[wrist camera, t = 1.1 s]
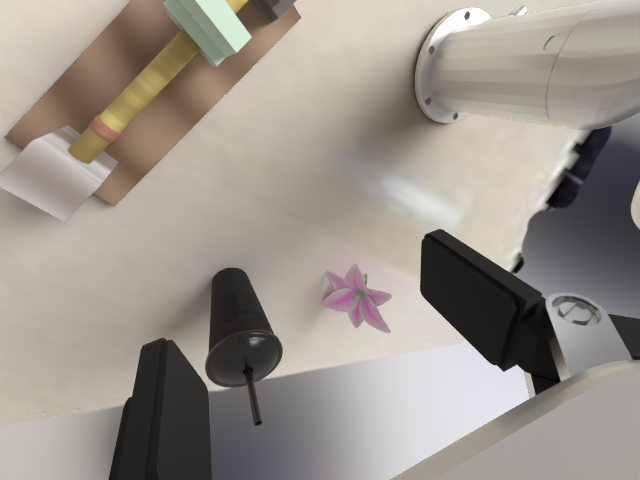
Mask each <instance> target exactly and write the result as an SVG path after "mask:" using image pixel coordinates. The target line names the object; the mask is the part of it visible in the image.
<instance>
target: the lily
mask: <svg viewBox="0 0 640 480" xmlns="http://www.w3.org/2000/svg"><path fill="white" fill-rule="evenodd" d="M327 276H328V278H329V280H330V281H331V283H332V284H333V286H334V287H335V289H336V290H337V291H335V292H333V293H332V294H331V295H329V296H328V297H327V298H326V299H325V300H324V301H323V305H324V306H326V307H328V308H330V309H333V310H336V311H340V312H348V314H349V317H350V320H351V322H352V324H353V325H354V327H356V328H357V327H359V326H360V324H361V323H362V322H363V320H365V321H366V322H367V323H368V324H369V325H371V326H373V327H374V328H376V329H378V330H380V331H383V332H385V333H390V330H389V328H388V326H387V325H386V323H385V321H384V320H383V318H382V316H381V315H380V313H379V311H378V309H377V307H376V306H379V305H382V304H383V303H385V302H386V301H388V300H389V299H390V298H391V297H392V295H391V294H389V293H385V292H381V291H377V290H372V289H368V288H367V287H366V284H367V274H366V275H365V282H364V280H363V277H362V274H361V272H360V269H359V267H358V265H357V264H353V265H352V266H351V267H350V269H349V270H348V272H347V274H346V276H345V278H344V279H342V278H340V277H338V276H336V275H335V274H332V273H330V272H328V271H327Z"/></svg>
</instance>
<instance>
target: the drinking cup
mask: <svg viewBox="0 0 640 480" xmlns="http://www.w3.org/2000/svg"><path fill="white" fill-rule="evenodd" d="M282 353H283V348H282V344H281V342H280V340H279V339H278V337H277V336H275V335H274V333H273V331H272V328H271V326H270V324H269V322H268V320H267V317H266V315H265V313H264V311H263V309H262V307H261V304H260V302H259V300H258V298H257V296H256V294H255V291H254V289H253V287H252V285H251V283H250V281H249V278H248V276H247V274H246V273H245V272H244V271H243V270H241V269H238V268H227V269H224V270H221V271H220V272H218V273H217V274H216V275H215V277H214V278H213V281H212V296H211V316H210V336H209V354H208V356H207V359H206V363H205V370H206V374H207V376H208V378H209V379H210V380H211V381H212V382H213V383H215V384H217V385H219V386H223V387H241V386H246V385H247V388H248V393H249V398H250V404H251V409H252V415H253V420H254V425H255V426H258V425H261V424H262V417H261V412H260V408H259V403H258V398H257V393H256V389H255V384H254V383H255V382H257V381H259V380H261V379H263V378H264V377H266V376H267V375H269V374H270V373H271V372H272V371H273V370H274V369H275V368H276V367H277V365H278V364H279V362H280V360H281V358H282Z"/></svg>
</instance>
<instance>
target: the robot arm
mask: <svg viewBox="0 0 640 480" xmlns="http://www.w3.org/2000/svg"><path fill="white" fill-rule="evenodd" d="M415 92H416V98H417V101H418V103H419V106H420V108H421V109H422V111H423V113H424V114H425V115H426V116H427V117H428V118H430V119H432V120H434V121H436V122H441V123H454V122H457V121H459V120H462V119H464V118H465V117H467V116H468V115H469V114H473V115H480V116H487V117H494V118H500V119H507V120H514V121H521V122H528V123H534V124H541V125H548V126H555V127H561V128H568V129H577V130H592V129H598V128H603V127H607V126H610V125H613V124H616V123H619V122H621V121H623V120H626V119H628V118H630V117H632V116H634V115H636V114H638V113H640V0H600V1H594V2H589V3H583V4H577V5H572V6H566V7H560V8H554V9H549V10H543V11H537V12H532V13H526V8H525V7H524V6H523V5H519V6H517V7H516V8H515V9H514V10H513V11H512V12H511V13H510V14H509V16H504V17H499V18H493V19H492V18H491V17H490V15H488V14H487V13H486V12H485V11H484V10H481V9H479V8H474V7H467V8H462V9H458V10H456V11H453V12H451V13H449V14H448V15H446V16H445V17H443V18H442V19H441V20H440V21H439V22H438V23H437V24H436V25H435V26H434V28H433V29H432V30H431V32H430V33H429V35H428V36H427V38H426V40H425V42H424V44H423V46H422V49H421V51H420V54H419V57H418V61H417V65H416V70H415ZM631 214H632V218H633V221H634V222H635V224H636V225H637V227H638V228H639V229H640V182H639V184H638V186H637V188H636V191H635V194H634V197H633V200H632V205H631ZM420 291H421V294H422V296H423V297H424V298H425V299H426V300H427V301H428V302H429V303H430V304H431V305H432V306H433V307H434V308H435V309H436V310H437V311H438V312H439V313H440V314H441V315H442V316H443V317H444V318H445V319H446V320H447V321H448V322H449V323H450V324H451V325H452V326H453V327H454V328H455V329H456V330H457V331H458V332H459V333H460V334H461V335H462V336H463V337H464V338H465V339H466V340H467V341H468V342H469V343H470V344H471V345H472V346H473V347H475V349H476V350H478V352H479V353H480V354H481V355H482V356H483V357H484V358H485V359H486V360H488V361H489V362H490V363H491V364H493V365H497V366H498V367H499V368H500V369H501V370H502V371H506V370H508V369H510V368H512V367H513V366H515V365H516V364H517V365H518V366H519V367H520V368H521V369H523V370H524V375H525V379H526V383H527V388H528V393H529V397H530V399H529V400H527V401H525V402H523V403H522V404H520V405H518V406H516V407H515V408H513V409H511V410H509V411H508V412H506V413H504V414H503V415H501V416H499V417H497V418H496V419H494V420H492V421H490V422H489V423H487V424H485V425H484V426H482V427H480V428H478V429H477V430H475V431H473V432H471V433H470V434H468V435H466V436H464V437H463V438H461V439H459V440H458V441H456V442H454V443H452V444H451V445H449V446H447V447H446V448H444V449H442V450H441V451H439V452H437V453H435V454H434V455H432V456H430V457H428V458H427V459H425V460H423V461H421V462H420V463H418V464H416V465H415V466H413V467H411V468H410V469H408V470H406V471H404V472H403V473H401V474H399V475H397V476H396V477H394V478H392V479H391V480H640V319H637V318H630V317H624V316H618V315H611V314H607V312H606V311H605V310H604V309H603V307H601V306H600V305H599V304H598V303H596V302H595V301H593V300H591V299H589V298H587V297H584V296H581V295H578V294H574V293H568V292H559V293H555V294H552V295H550V296H549V297H548V298H547V300H546V299H545V298H543V297H542V296H541V295H542V293H540V292H539V291H537V290H536V289H534V288H533V287H531V286H529V285H528V284H527V283H525V282H523V281H522V280H520V279H518V278H517V277H516V276H514V275H512V274H511V273H509V272H508V271H506V270H505V269H503V268H502V267H500V266H498V265H497V264H495V263H494V262H492V261H491V260H489V259H488V258H486V257H484V256H483V255H481V254H480V253H478V252H477V251H475V250H473V249H472V248H470V247H469V246H467V245H466V244H464V243H463V242H461V241H459V240H458V239H456V238H455V237H453V236H452V235H450V234H448V233H447V232H445V231H444V230H442V229H438V230H435V231H433V232H430V233H428V234H426V235H425V236H424V239H423V240H422V245H421V280H420ZM209 425H210V424H209V402H208V390H207V387H206V385H205V383H204V382H203V380H202V379H201V378H200V376H199V375H198V374H197V372H196V371H195V369H194V368H193V367H192V365H191V364H190V363H189V361H188V360H187V359H186V357H185V356H184V355H183V353H182V352H181V351H180V349H179V348H178V347H177V345H176V344H175V343H174V341H173V340H168V341H167V340H166V339H165V338H161V339H158V340H156V341H153V342H151V343H148V344H145V345H143V347H142V349H141V353H140V358H139V364H138V369H137V374H136V379H135V385H134V390H133V395H132V397H130V398H128V400H127V401H126V403H125V406H124V409H123V414H122V418H121V423H120V428H119V433H118V437H117V442H116V447H115V452H114V456H113V461H112V466H111V471H110V475H109V480H212V471H211V448H210V426H209Z"/></svg>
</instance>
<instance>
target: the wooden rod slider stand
mask: <svg viewBox="0 0 640 480" xmlns="http://www.w3.org/2000/svg"><path fill="white" fill-rule="evenodd" d="M165 1H166V0H132V1H131V2H130V3H129V4H128V5H127V6H126V7H125V9H124V10H123V11H122V12H121V13H120V14H119V15H118V16H117V17H116V18H115V19H114V20H113V21H112V22H111V23H110V25H109V26H108V27H107V28H106V29H105V30H104V31H103V32H102V33H101V34H100V35H99V36H98V37H97V38H96V40H95V41H94V42H93V43H92V44H91V45H90V46H89V47H88V48H87V49H86V50H85V51H84V52H83V53H82V55H81V56H80V57H79V58H78V59H77V60H76V61H75V62H74V63H73V64H72V65H71V66H70V67H69V68H68V70H67V71H66V72H65V73H64V74H63V75H62V76H61V77H60V78H59V79H58V80H57V81H56V82H55V83H54V84H53V86H52V87H51V88H50V89H49V90H48V91H47V92H46V93H45V94H44V95H43V96H42V97H41V98H40V99H39V101H38V102H37V103H36V104H35V105H34V106H33V107H32V108H31V109H30V110H29V111H28V112H27V113H26V114H25V116H24V117H23V118H22V119H21V120H20V121H19V122H18V123H17V124H16V125H15V126H14V127H13V128H12V129H11V130H10V132H9V133H8V134H7V135H6V136H5V137H4V138H6V139H7V140H9V141H11V142H12V143H14V144H15V145H17V146H19V147H20V148H22V149H23V151H22V152H21V153H20V154H19V155H18V156H17V157H16V158H15V159H14V160H13V161H12V162H11V164H10V165H9V166H8V167H7V168H6V169H5V170H4V171H3V172H2V173H1V174H0V187H1V188H3V189H5V190H7V191H8V192H10V193H12V194H14V195H16V196H18V197H20V198H21V199H23V200H25V201H27V202H29V203H31V204H32V205H34V206H36V207H38V208H40V209H42V210H44V211H45V212H47V213H49V214H51V215H53V216H55V217H56V218H58V219H60V220H62V221H64V222H65V221H66V220H67V219H68V218H69V217H70V216H71V215H72V214H73V213H74V212H75V211H76V210H77V209H78V208H79V207H80V206H81V205H82V204H83V203H84V202H85V201H86V200H87V199H88V198H89V197H90V196H91V195H92V194H95V195H97V196H98V197H100V198H101V199H103V200H104V201H106V202H108V203H109V204H111V205H112V206H115V205H116V204H117V203H118V202H119V201H120V200H121V199H122V198H123V197H124V196H125V195H126V194H127V193H128V192H129V191H130V190H131V189H132V188H133V187H134V186H135V185H136V184H137V183H138V182H139V181H140V180H141V179H142V178H143V177H144V176H145V175H146V174H147V173H148V172H149V171H150V170H151V169H152V168H153V167H154V166H155V165H156V164H157V163H158V162H159V161H160V160H161V159H162V158H163V157H164V156H165V155H166V154H167V153H168V152H169V151H170V150H171V149H172V148H173V147H174V146H175V145H176V144H177V143H178V142H179V141H180V140H181V139H182V138H183V137H184V136H185V135H186V134H187V133H188V132H189V131H190V130H191V128H192V127H193V126H194V125H195V124H196V123H197V122H198V121H199V120H200V119H201V118H202V117H203V116H204V115H205V114H206V113H207V112H208V111H209V110H210V109H211V108H212V107H213V106H214V105H215V104H216V103H217V102H218V101H219V100H220V99H221V98H222V97H223V96H224V95H225V94H226V93H227V92H228V91H229V90H230V89H231V88H232V87H233V86H234V85H235V84H236V83H237V82H238V81H239V80H240V79H241V78H242V77H243V76H244V75H245V74H246V73H247V72H248V71H249V70H250V69H251V68H252V67H253V66H254V65H255V64H256V63H257V62H258V61H259V60H260V59H261V58H262V57H263V56H264V55H265V54H266V53H267V52H268V51H269V50H270V49H271V48H272V47H273V46H274V45H275V44H276V43H277V42H278V41H279V40H280V39H281V38H282V37H283V36H284V35H285V34H286V33H287V32H288V31H289V30H290V29H291V28H292V27H293V26H294V25H295V24H296V23H297V22H298V21H299V20H300V19H301V16H300V15H299V13H298V11H297V10H296V8H295V6H294V5H293V3H294V2H295V1H296V0H225V1H226V3H227V4H228V5H229V7H230V8H231V9H232V11H233V12H234V13H235V15H236V16H237V18H238V19H239V20H240V22H241V23H242V24H243V26H244V27H245V29H246V30H247V31H248V33H249V34H250V35H251V37H252V38H251V39H250V40H249V41H248V42H247V43H246V44H245V45H244V46H243V47H242V48H241V49H240V50H239V51H238V52H237V53H235V54H233V55H230V56H228V57H226V58H225V59H224V60H223V61H222V62H221V63H220V64H219V65H218V66H216V67H212V65H211V64H210V63H209V62H208V61H207V60H206V59H205V57H204V56H203V55H202V54H201V53H200V52H199V51H200V50H201V48H200V47H199V46H198V45H197V44H196V43H195V41H194V40H193V39H192V38H191V37H190V36H189V34H188V33H187V32H186V31H185V30H184V29H182V30H180V29H179V27H178V26H177V25H176V24H175V23H174V22H173V21H172V19H171V18H170V17H169V16H168V15H167V13H166V10H165V7H164V4H163V3H164V2H165Z"/></svg>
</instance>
